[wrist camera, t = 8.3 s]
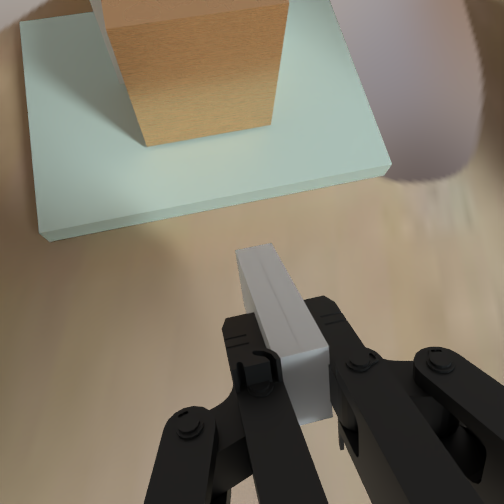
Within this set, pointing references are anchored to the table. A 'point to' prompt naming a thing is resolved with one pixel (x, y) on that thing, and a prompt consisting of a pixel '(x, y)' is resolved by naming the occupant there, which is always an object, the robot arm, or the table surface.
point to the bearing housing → (193, 150)
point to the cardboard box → (197, 63)
